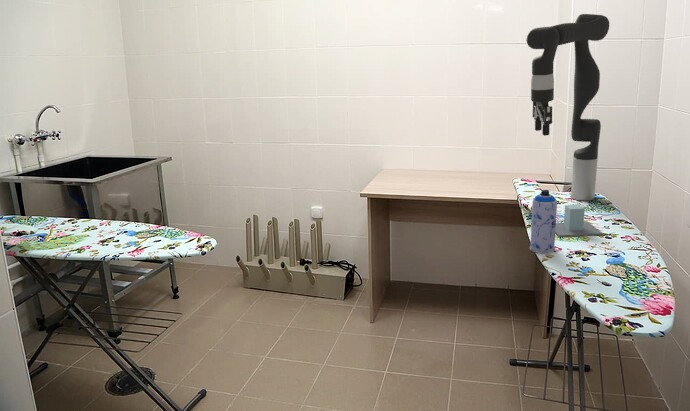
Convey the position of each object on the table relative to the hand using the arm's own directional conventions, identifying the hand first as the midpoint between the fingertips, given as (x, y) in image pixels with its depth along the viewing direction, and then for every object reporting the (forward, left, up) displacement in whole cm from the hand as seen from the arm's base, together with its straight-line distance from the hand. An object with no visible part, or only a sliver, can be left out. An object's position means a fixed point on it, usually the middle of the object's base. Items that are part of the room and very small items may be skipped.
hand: (541, 132), depth 204 cm
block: (+10, +9, -33) cm, 36 cm away
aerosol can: (+27, -8, -34) cm, 44 cm away
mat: (+10, +9, -34) cm, 37 cm away
